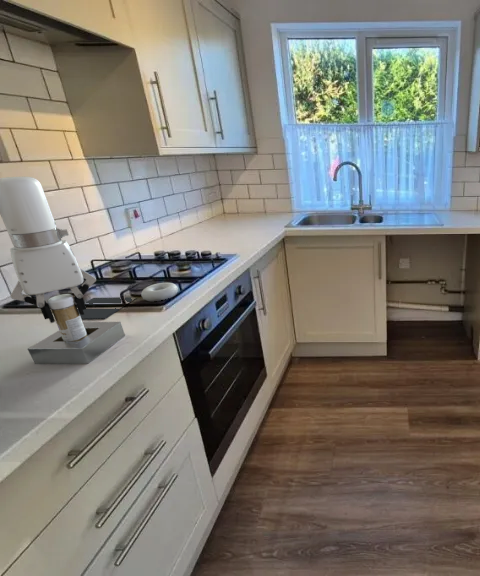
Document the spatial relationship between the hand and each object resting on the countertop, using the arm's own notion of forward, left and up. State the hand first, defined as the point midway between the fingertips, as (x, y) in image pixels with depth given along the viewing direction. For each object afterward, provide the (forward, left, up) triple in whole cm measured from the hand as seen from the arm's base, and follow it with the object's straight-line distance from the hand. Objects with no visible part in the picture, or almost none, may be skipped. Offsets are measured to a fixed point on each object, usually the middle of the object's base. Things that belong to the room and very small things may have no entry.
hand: (67, 316), depth 82 cm
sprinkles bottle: (0, 0, -9) cm, 9 cm away
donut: (+1, +30, -9) cm, 32 cm away
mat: (-13, +22, -9) cm, 27 cm away
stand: (0, 0, -9) cm, 9 cm away
